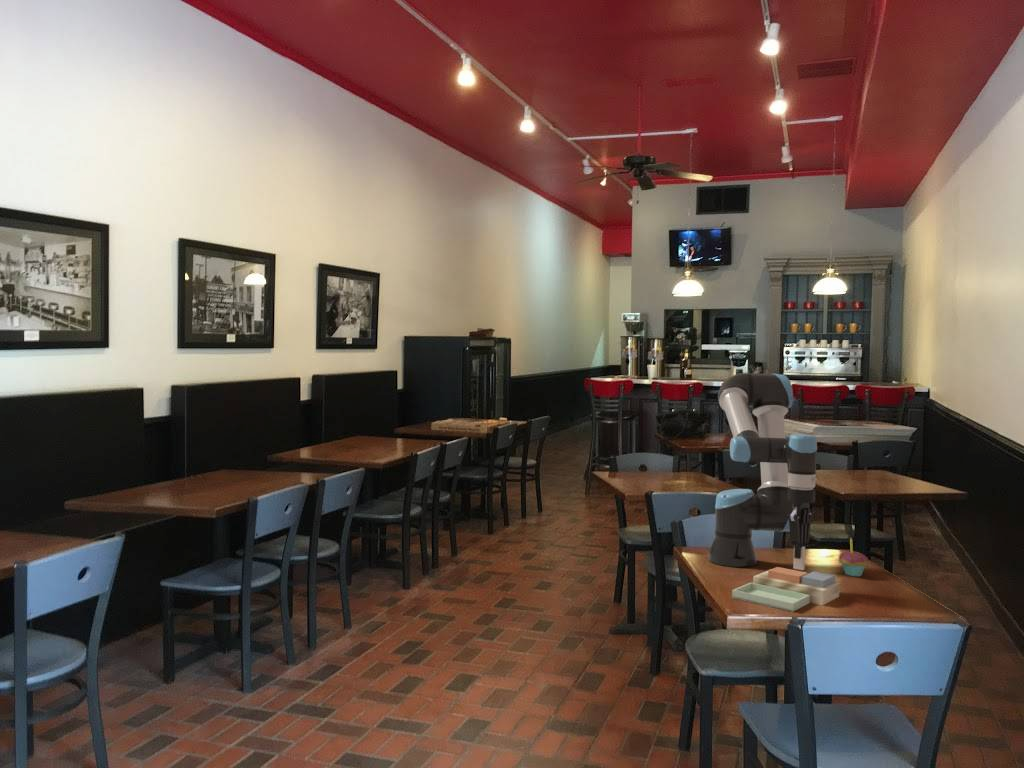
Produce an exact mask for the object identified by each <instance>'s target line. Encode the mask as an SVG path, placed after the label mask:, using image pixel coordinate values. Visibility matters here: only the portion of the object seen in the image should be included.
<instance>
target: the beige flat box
mask: <svg viewBox="0 0 1024 768" xmlns="http://www.w3.org/2000/svg"><path fill="white" fill-rule="evenodd" d="M771 569H772V568H770V569H769V570H771ZM752 579H753V581H752V583H755V584H760V585H765V586H770V587H774V588H779V589H784V590H788V591H793V592H798V593H803V594H807V595H810V603H809V604H815V605H819V606H825V605H826V604H828V603H830V602H833V601H834V600H836V599H838V598H840V582H838V581H835V582H834V583H832V584H830V585H828V586H827V587H825V588H820V587H815V586H810V585H805V584H802V583H800V584H798V583H793V582H788V581H783V580H778V579H773V578H768V570H765V571H763V572H761V573H759V574H756V575H753V578H752Z"/></svg>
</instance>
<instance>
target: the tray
mask: <svg viewBox="0 0 1024 768" xmlns="http://www.w3.org/2000/svg"><path fill="white" fill-rule="evenodd" d="M731 593H732V594H731V599H735V600H739V601H743V602H749V603H751V604H756V605H760V606H765V607H770V608H772V609H773V608H774V609H779V610H782V611H783V610H784V611H788V612H792V613H794V612H795V611H797V610H799V609H801V608H803V607H805V606H807V605H809V604H811V603H810V595H807V594H803V593H798V592H793V591H788V590H784V589H779V588H774V587H770V586H765V585H760V584H755V583H753V582H748V583H745V584H744V585H742V586H739V587H736V588H734V589H732V591H731Z"/></svg>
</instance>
